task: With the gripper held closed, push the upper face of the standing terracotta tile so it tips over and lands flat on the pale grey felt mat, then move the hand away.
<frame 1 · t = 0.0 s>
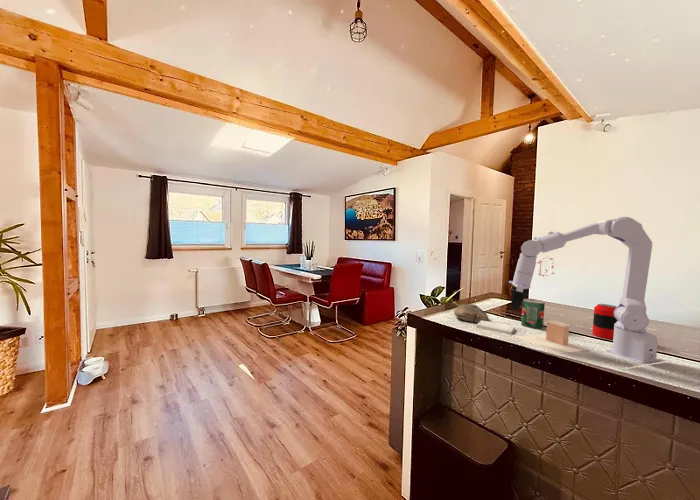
hand: (515, 307, 108), 11 cm above the counter, tool pointing down, fingers open, 7 cm apart
soda can: (605, 337, 110), on the counter
felt mat: (549, 343, 100), on the counter
brown rounded piece: (470, 316, 132), on the counter, touching hard drive
terracotta tile: (556, 342, 101), resting on felt mat
hard drive: (495, 329, 115), on the counter, touching brown rounded piece
canned tomato: (531, 327, 120), on the counter
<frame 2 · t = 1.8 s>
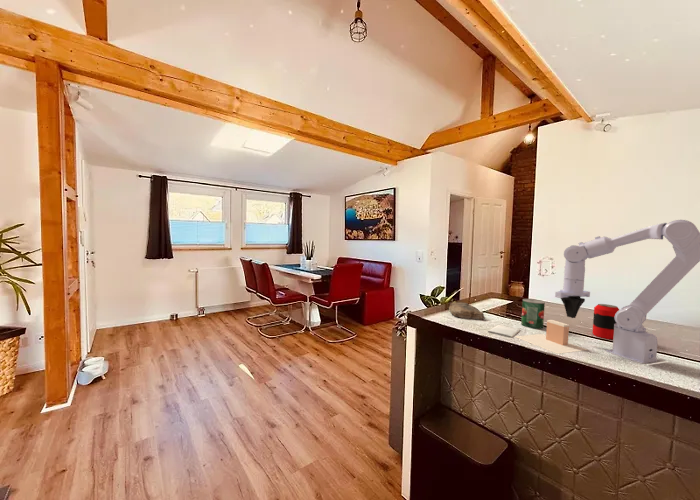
hand: (571, 317, 103), 9 cm above the counter, tool pointing down, fingers closed
brown rounded piece: (463, 314, 138), on the counter
hard drive: (504, 334, 111), on the counter
everything else where it was.
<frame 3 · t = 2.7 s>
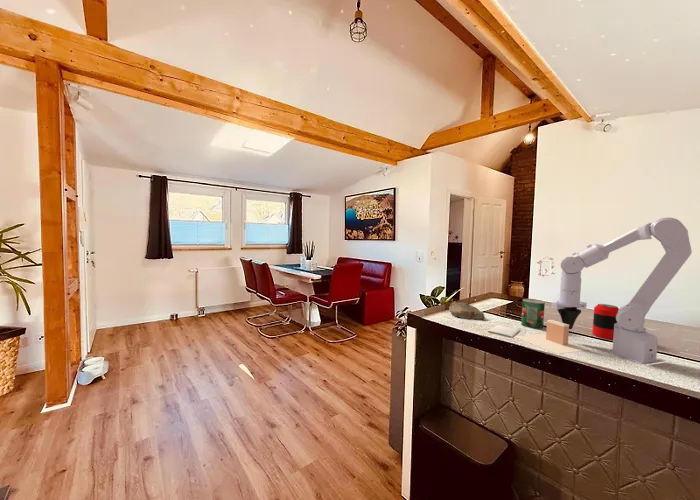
hand: (567, 328, 102), 5 cm above the counter, tool pointing down, fingers closed
nothing on the counter moved.
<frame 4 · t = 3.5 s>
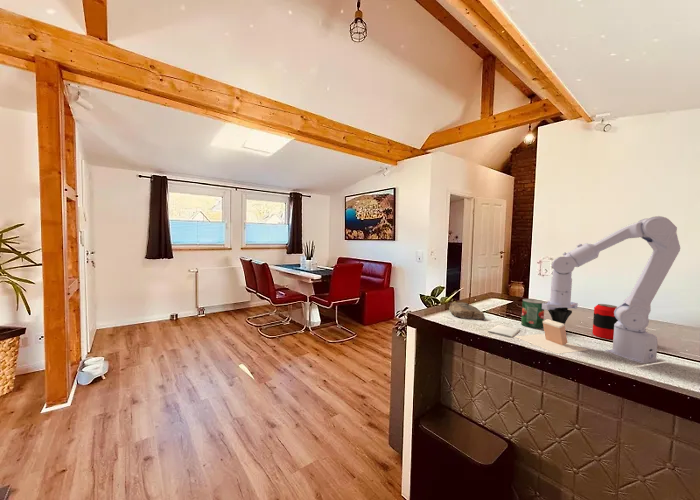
hand: (558, 329, 101), 5 cm above the counter, tool pointing down, fingers closed
terracotta tile: (556, 340, 101), point 1 cm above the counter, tilted 18°, touching felt mat
everything else where it was.
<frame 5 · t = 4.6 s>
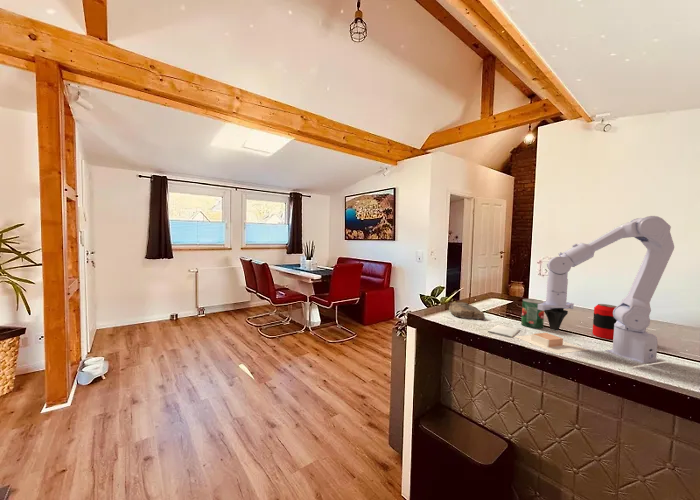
hand: (554, 329, 100), 5 cm above the counter, tool pointing down, fingers closed
terracotta tile: (554, 338, 101), point 2 cm above the counter, tilted 90°, touching felt mat
everything else where it was.
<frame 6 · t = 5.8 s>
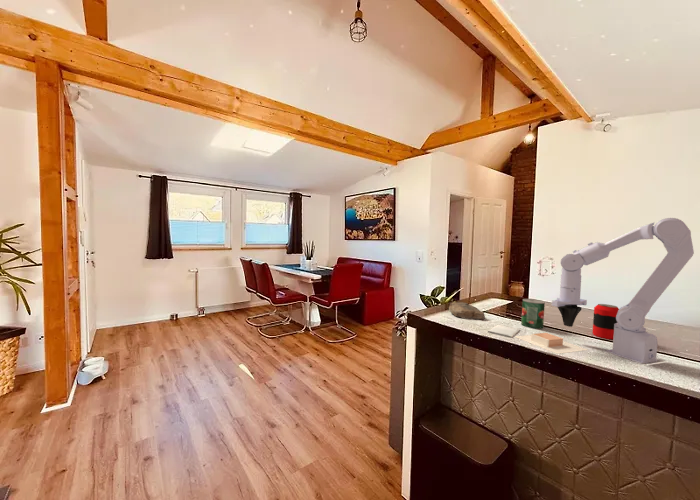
hand: (568, 325, 102), 6 cm above the counter, tool pointing down, fingers closed
nothing on the counter moved.
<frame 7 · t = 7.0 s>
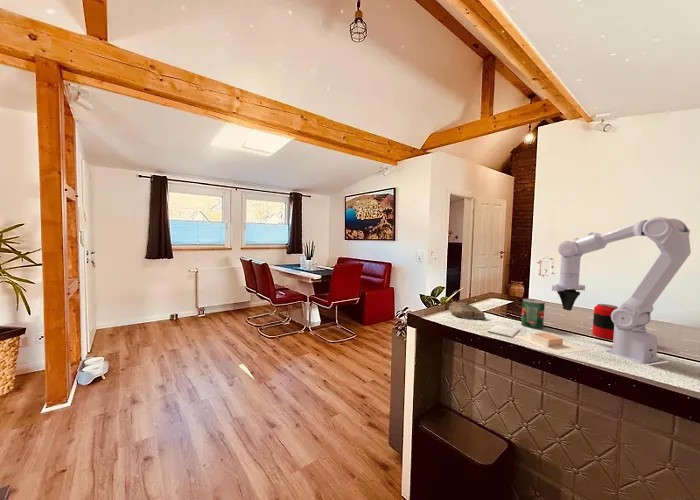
hand: (567, 309, 107), 10 cm above the counter, tool pointing down, fingers closed
nothing on the counter moved.
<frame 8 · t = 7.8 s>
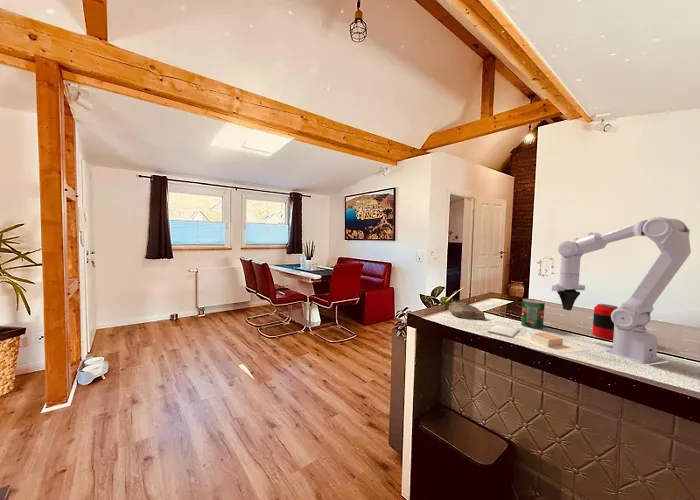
hand: (567, 309, 107), 10 cm above the counter, tool pointing down, fingers closed
nothing on the counter moved.
at the end: terracotta tile tilted 90°; terracotta tile inside the target area (2.8 cm from its centre), point 1.6 cm above the counter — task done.
